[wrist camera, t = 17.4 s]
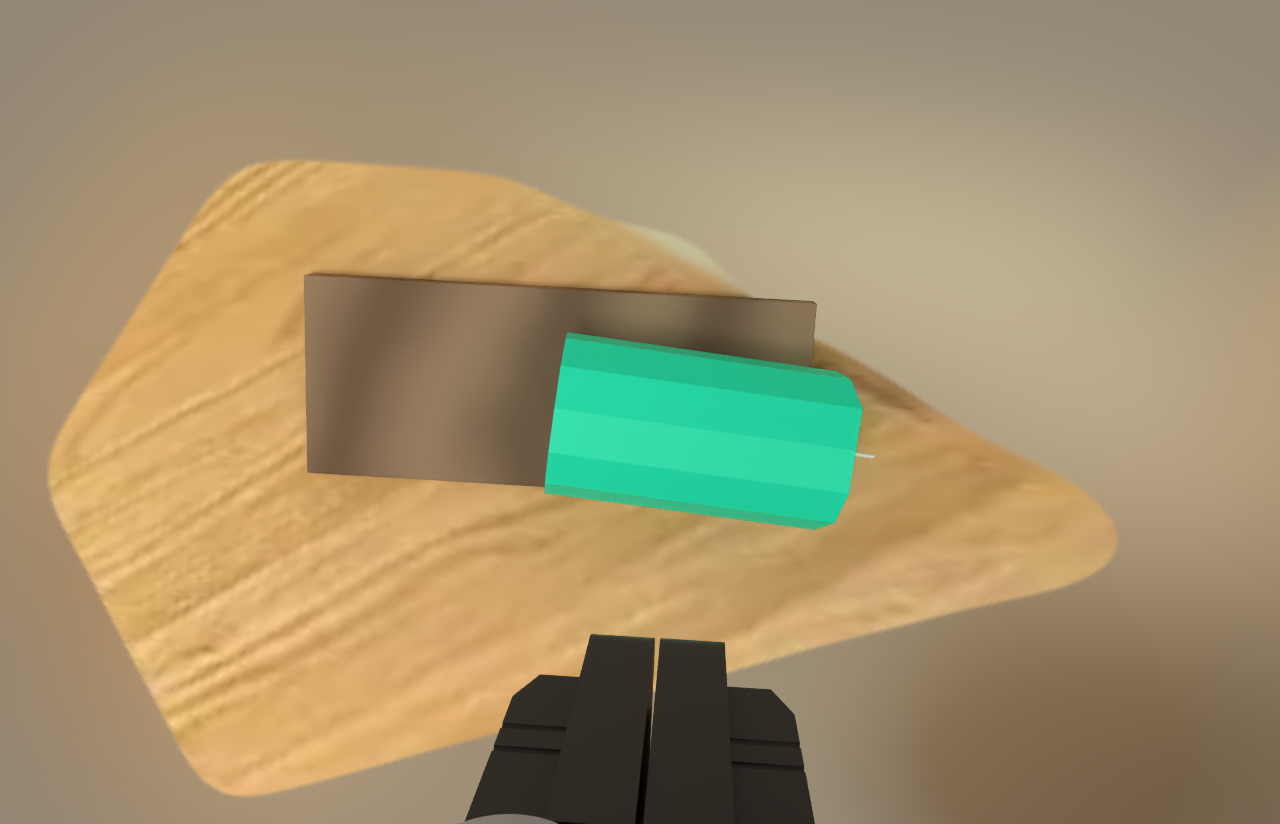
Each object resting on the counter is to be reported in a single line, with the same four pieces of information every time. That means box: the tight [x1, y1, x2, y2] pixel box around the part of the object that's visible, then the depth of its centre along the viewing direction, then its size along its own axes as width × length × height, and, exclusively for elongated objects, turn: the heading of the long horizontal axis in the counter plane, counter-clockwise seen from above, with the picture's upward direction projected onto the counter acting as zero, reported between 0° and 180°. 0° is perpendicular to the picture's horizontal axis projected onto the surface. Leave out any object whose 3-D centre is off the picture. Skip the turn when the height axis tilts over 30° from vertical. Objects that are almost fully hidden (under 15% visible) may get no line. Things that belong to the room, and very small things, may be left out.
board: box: [304, 273, 817, 487], centre depth 40 cm, size 20×8×1 cm, turn 87°
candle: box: [545, 332, 875, 530], centre depth 37 cm, size 6×6×12 cm
